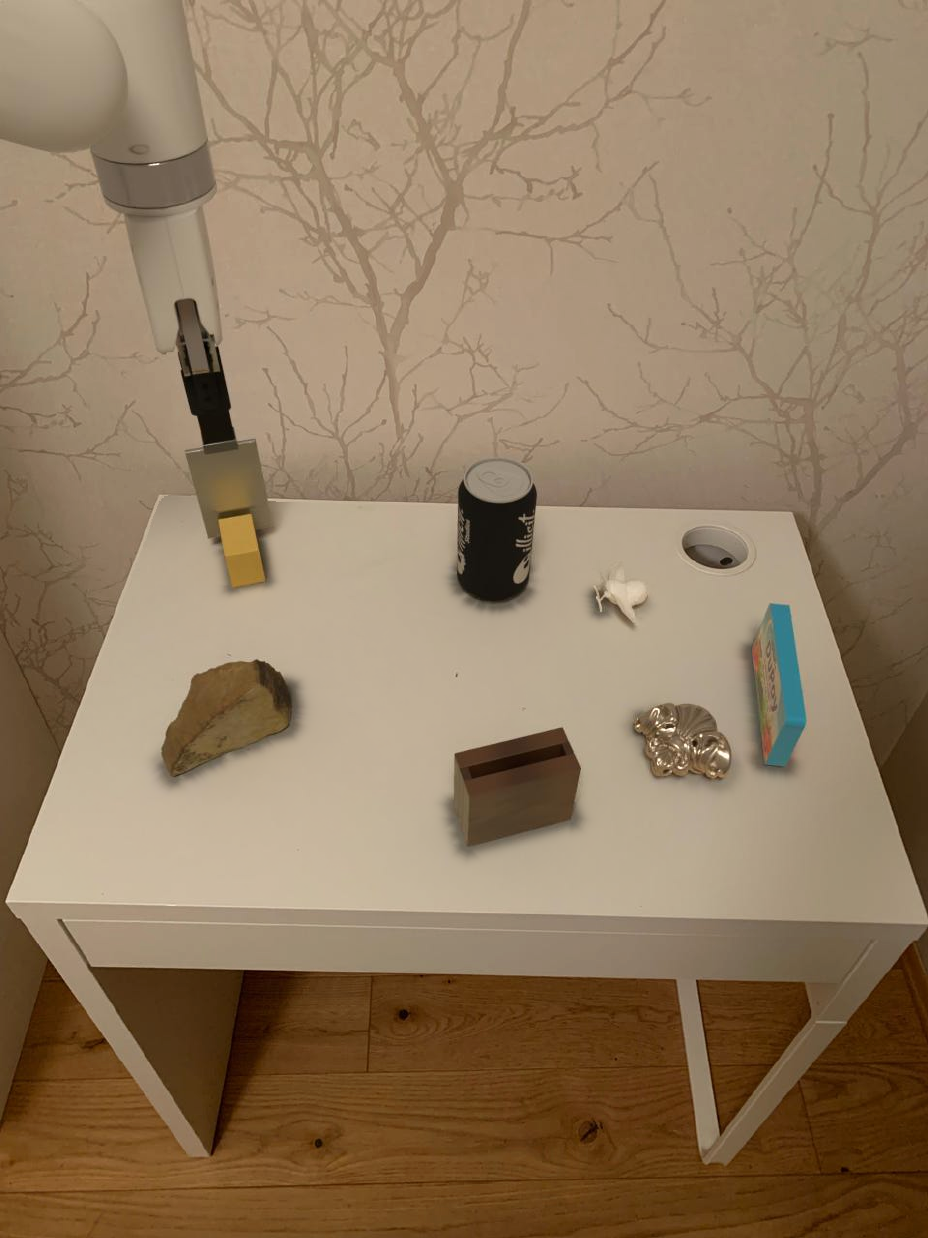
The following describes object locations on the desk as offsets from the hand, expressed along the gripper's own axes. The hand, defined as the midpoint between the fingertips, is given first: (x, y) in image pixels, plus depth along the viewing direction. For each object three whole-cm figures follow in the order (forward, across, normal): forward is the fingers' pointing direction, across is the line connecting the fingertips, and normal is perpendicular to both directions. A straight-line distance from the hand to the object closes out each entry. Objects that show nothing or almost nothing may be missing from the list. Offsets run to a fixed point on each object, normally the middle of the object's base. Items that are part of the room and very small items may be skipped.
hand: (209, 400), depth 75 cm
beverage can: (+16, +11, +21) cm, 29 cm away
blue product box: (+16, +31, +38) cm, 52 cm away
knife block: (+16, +34, +15) cm, 41 cm away
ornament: (+16, +33, +29) cm, 47 cm away
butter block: (+16, +3, 0) cm, 16 cm away
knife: (+15, 0, 0) cm, 15 cm away
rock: (+16, +22, -4) cm, 27 cm away
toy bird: (+16, +17, +31) cm, 39 cm away
